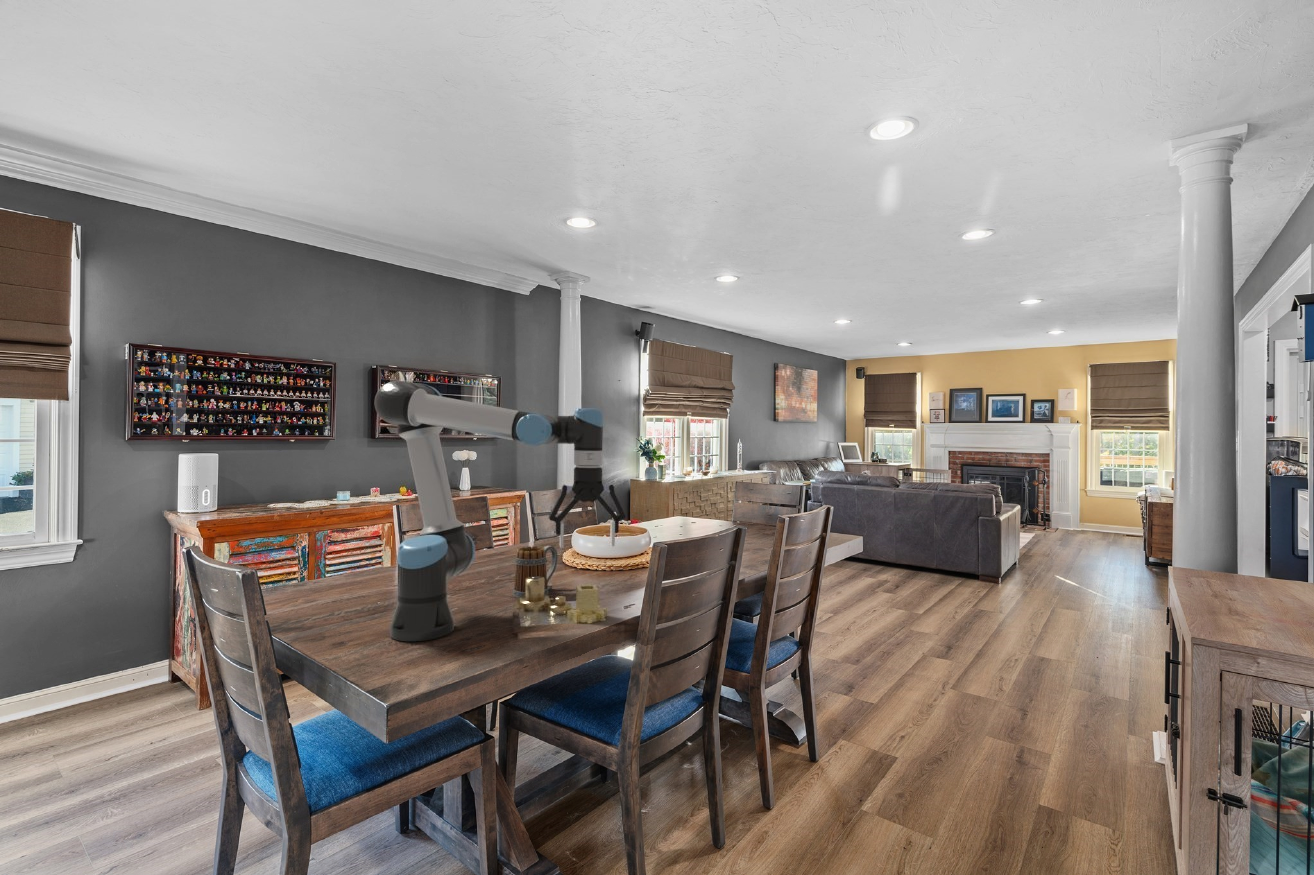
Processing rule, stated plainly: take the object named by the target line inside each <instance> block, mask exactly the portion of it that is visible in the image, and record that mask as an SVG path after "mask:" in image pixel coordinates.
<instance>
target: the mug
mask: <svg viewBox="0 0 1314 875" xmlns="http://www.w3.org/2000/svg"><path fill="white" fill-rule="evenodd" d="M548 551H550V552H551V563H550V568H549V569H548V571H547V563H548V561H549V560H548V558H547V553H548ZM558 556H559V555H558V550H557V549H556V547H555V546H554V545H553V546H552V545H546V546H545V545H544V547H542V546H535V545H534V546H524V547H523V546H522V547H519V548H517V550H516V556H515V571H514V572H515V573H514V584H513V585H514V586H513V590H512V595H513V597H514V598H518V599H520V597H526V578H528V577H534V576H539V577H544V596H545V595H547V596H548V595H549V591H550V590H552V588H553V584H549V582H550V580H551V578H552V576H553V575H554V573H555V571H556V569H557V566H558V565H557V564H558Z"/></svg>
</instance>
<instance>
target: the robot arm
mask: <svg viewBox="0 0 1314 875" xmlns="http://www.w3.org/2000/svg"><path fill="white" fill-rule="evenodd" d="M375 394H376V395H375V397H374V408H375V411H376V413H377V415H378V416H379V417H380V419H382V420H383V421H384V422H386V423H388V424H391V425H395V426H396V429H397V432H398V436H399V437H400V438H402V439H403V440H405V441H406V445H407V451H408V455H409V456H408V457H409V461H410V464H411V470H412V475H413V479H414V483H415V484H414V485H415V490H416V494H417V498H418V503H419V508H420V514H421V518H422V524H423V528H422V529H421V531H420V532H419V535H418V536H415V537H414V536H413V537H410V538H407V539H405V540H403V541H402V542H401V543H400V544H399V546H398V549H397V555H396V562H397V564H396V565H397V604H396V606H395V607H396V608H395V610H394V613H393V617H392V618H391V623H390V626H389V636H390V638H392V639H394V640H396V641H401V642H423V641H424V642H425V641H431V640H436V639H439V638H443V637H444V636H447V635H449V634H451V633H452V632H453V631H454V630H455V619H454V616H453V613H452V610H451V608H450V605H449V601H448V594H447V593H448V580H450V579H451V578H453V577H455V576H456V577H457V576H459V575H460V574H462V573H463V572H464V571H466V570H467V569H468V568H469V567H470V566H471V565H472V563H473V561H474V559H475V555H476V546H475V542H474V540H473V539H472V537H471V536H470V535H468V534H467V533H466V529H465V526H464V523H463V522H462V521H461V520H458V519H457V514H456V509H455V506H454V501H453V500H454V499H453V495H452V490H451V486H450V482H449V476H448V473H447V467H446V463H445V462H446V461H445V458H444V452H443V448H442V444H441V443H442V442H441V439H440V433H441V432H442V430H443V429H444V428H445V429H450V430H456V431H461V432H466V433H471V434H472V433H473V434H478V435H482V436H488V437H495V438H499V439H503V440H510V441H515V442H519V443H524V444H526V445H528V446H535V447H537V446H541V445H554V444H555V445H560V444H561V445H570V444H571V445H572V444H573V450H574V451H573V465H574V466H575V467H574V468H573V484H572V485H566V484H562V485H561V489H560V494H559V495H558V497H557V500H556V502H555V503H554V506H553V507H552V509H551V512H550V513H549V515H548V519H549V521H553V522H554V523H555V533H556V536H559V548H560V549H564V543H565V542H564V536H565V535H564V530H565V528H564V525H565V523H564V522H563V520H564V519H565V518H566V517H567V515H568V514H570V511H572V509H573V508H574V506H575V505H577V504H578V503H579V502H582V503H586V502H591V503H593V502H596V501H597V502H598V503H599V504H600V505H601V507H602V508H604V509H605V511H606V512H607V514H609V516H610V517H611V518H612V520H609V521H610V522H609V523H610V524H609V526H610V530H609V535H610V536H609V537H610V538H609V545H610V546H611V547H615V544H616V539H615V538H616V534H618V533H619V529H620V523H619V522H620V521H621V520H625V519H627V518H626V517H627V516H626V513H625V512H624V509H623V507H622V506H621V504H620V502H619V499H618V497H617V495H616V493H615V486H614V485H613V483H612V484H611V483H609V484H606V485H604V484H603V468H602V467H601V466H603V442H604V441H603V439H604V438H603V437H604V425H603V424H604V423H603V421H604V420H603V411H602V410H601V409H600V408H588V407H587V408H585V407H584V408H576V409H574V414H573V415H549V414H548V415H547V414H540V413H539V414H538V413H533V412H527V411H521V410H516V409H513V408H512V409H510V408H506V407H500V406H495V405H489V404H484V403H478V402H473V401H468V400H467V401H466V400H462V399H457V398H452V397H446V396H443V395H442V394H441V392H439V391H438V389H436V388H435V387H433V386H430V385H428V384H426V383H423V382H421V383H420V382H417V383H416V382H411V381H405V380H393V381H392V380H391V381H390V382H387V383H385V384H383V385H381V387H380V388H379V389H378V390H377V392H376V393H375ZM570 491H572V492H573V493H574V496H573V497H572V498H571V500H570V501H569V502H568V503H567V504H566V505H565V507H564V508H563V509H562V510H561V512H559V514H558V511H559V510H560V508H561V506H562V504H563V502H564V500H565V498H566V496H567V494H569V493H570ZM604 491H605V492H606V493H608V494H609V498H610V499H611V501H612V503H613V506H614V507H615V509H616V511H617V514H616V512H614V510H613V509H612V508H611V507H610V506H609V504H608V503H607V502H606V501H605V500H604V498H603V497H602V496H601V495H602V493H603V492H604ZM557 514H558V515H557Z"/></svg>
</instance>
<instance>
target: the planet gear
mask: <svg viewBox="0 0 1314 875" xmlns="http://www.w3.org/2000/svg"><path fill="white" fill-rule="evenodd" d="M575 590H576V591H575V601H576V607H570V611H567V619H572V621H573V622H574V623H575V624H578V623H582V624H584V623H585V624H593V623H596V622H604V621H603V620H604V617H605V618H607V617H608V613H607V612H608V611H607V608H606V607H604V608H603V607H602V606H601V605H599V588H598V587H597V584H584V585H583V584H582V585H576V586H575ZM574 623H573V624H574Z"/></svg>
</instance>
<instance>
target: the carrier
mask: <svg viewBox="0 0 1314 875" xmlns="http://www.w3.org/2000/svg"><path fill="white" fill-rule="evenodd" d="M566 599H567V598H566V596H563V595H558V596H555V599H554V597H551V598H550V596H549V595H548V594H547V595H545V596H544V577H539V576H534V577H528V578H526V597H520V598H519V599H518V600H515V609H518V615H519V616H518V617H519V624H520V627H531V626H532V627H534V626H545V625H546V626H547V625H560V624H561V625H562V624H574V622H573V621H572V619H567V611H570V607H576V600H570V601H569V600H568V601H567V600H566ZM606 619H607V618H606V617H604V620H603V621H602V622H605V621H607V620H606Z"/></svg>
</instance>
